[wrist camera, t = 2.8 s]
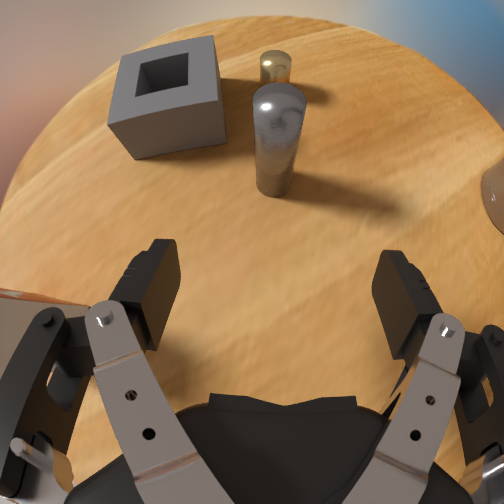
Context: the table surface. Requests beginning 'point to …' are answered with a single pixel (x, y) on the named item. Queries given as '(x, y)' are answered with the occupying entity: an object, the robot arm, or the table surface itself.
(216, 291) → the table surface
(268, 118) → the grey metal rod
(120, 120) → the collar block
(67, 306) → the small box
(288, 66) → the brass pin
